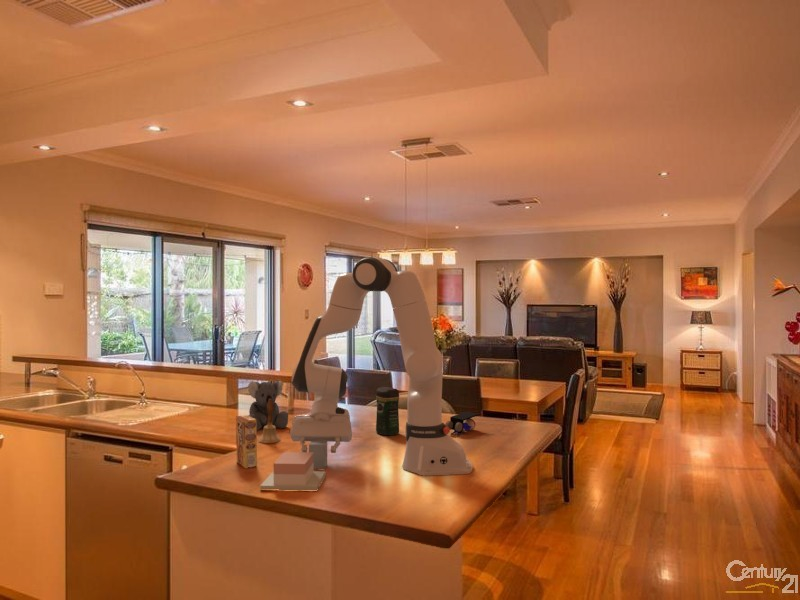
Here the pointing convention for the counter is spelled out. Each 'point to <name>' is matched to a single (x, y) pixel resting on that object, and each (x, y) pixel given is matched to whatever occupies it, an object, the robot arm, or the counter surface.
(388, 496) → the counter surface
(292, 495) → the counter surface
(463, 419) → the figurine character
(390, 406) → the coffee jar
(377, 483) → the counter surface
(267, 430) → the hand bell
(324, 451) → the slate brick
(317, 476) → the brick tower base
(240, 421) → the candy box
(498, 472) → the counter surface
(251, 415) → the koala plush
